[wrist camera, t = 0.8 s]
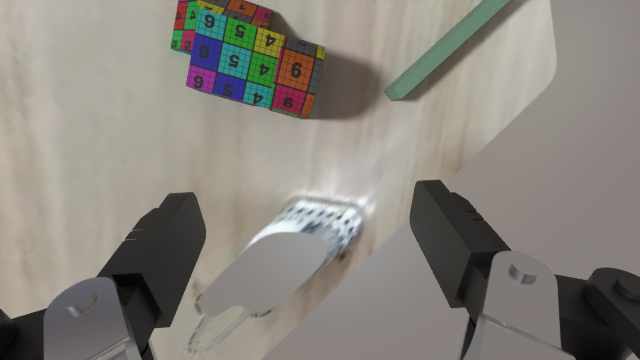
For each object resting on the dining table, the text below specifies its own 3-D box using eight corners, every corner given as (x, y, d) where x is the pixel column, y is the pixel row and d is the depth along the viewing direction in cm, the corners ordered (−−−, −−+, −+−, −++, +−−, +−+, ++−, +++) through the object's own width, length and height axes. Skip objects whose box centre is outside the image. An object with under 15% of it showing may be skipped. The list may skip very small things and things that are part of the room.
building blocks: (323, 30, 32) (340, -3, 23) (301, 119, 33) (309, 117, 25) (184, -17, 29) (147, -74, 21) (168, 82, 30) (127, 67, 22)
